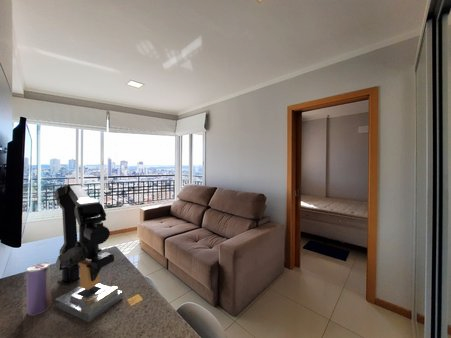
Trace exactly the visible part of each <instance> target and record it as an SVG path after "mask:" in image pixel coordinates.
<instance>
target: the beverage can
mask: <svg viewBox="0 0 451 338" xmlns="http://www.w3.org/2000/svg"><path fill="white" fill-rule="evenodd" d="M51 268H52V267H51V263H50V262H40V263H36V264H32V265H31V266H29V267H28V268H27V269H26V270H27V271H26V272H25V278H26V281H25V282H26V314H27V315H28V316H32V317H33V316H38V315H41V314H43V313H45V312H46V311H48V310H49V308H50V307H51V305H52V273H51V272H52V271H51Z"/></svg>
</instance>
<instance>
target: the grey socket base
mask: <svg viewBox="0 0 451 338" xmlns="http://www.w3.org/2000/svg"><path fill="white" fill-rule="evenodd" d="M122 299H123V291H122V290H119V287H118V286H115V285H112V286H108V285H104V284H102V283H99V284H97V285H95V286H94V287H92V288H90V289H89V290H86V289H84V288H81V287H80V285H79V286H77V287H76V288H73V289H72V290H69V291H67V292H66V293H64V294H62V295H60V296H58V297H57V298H55V299H54V307H55V308H58V309H60V310H61V311H64V312H65V313H69V315H73V316H74V317H77V318H79V319H80V320H83V321H85V322H87V323H90V322H91V321H93V320H94V319H96V318H97V317H99V316H100V315H101V314H103V313H104V312H105V311H107V310H108V309H110V308H111V307H113V305H115V304H116V303H118V302H119V301H121V300H122Z"/></svg>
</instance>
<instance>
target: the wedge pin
mask: <svg viewBox="0 0 451 338" xmlns="http://www.w3.org/2000/svg"><path fill="white" fill-rule="evenodd" d="M90 261H91V260H88V259H85V260H83V261H81V262H79V266H80V269H79V274H80V278H79V284H80V285H79V286H80V287H81V288H84V289H86V290H89V289H90V288H92V287H94V286H95V285H97V284H100V273H99V274H98V276H97V278H96V280H95V281H93V282H92V281H91V275H90V269H89V268H88V267H86V266H87V265H89V264H90Z"/></svg>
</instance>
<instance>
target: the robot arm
mask: <svg viewBox="0 0 451 338" xmlns="http://www.w3.org/2000/svg"><path fill="white" fill-rule="evenodd" d="M54 200H56V204H57V206H58V207H59V208H61V210H62V212H61V213H62V228H63V230H62V231H63V244H62V246H61V247H60V249H59V255H58V256H57V258H56V261H55V266H56V268H57V270H58V271H61V277H60V278H59V279H57V282H58V283H61V284H64V285H68V284H71V283H73V282H75V281H77V280H80V266H79V262H81V261H83V260H85V259H88V260H91V261H90V264H89V265H87V266H86V267H88V268H89V269H90V275H91V281H92V282H93V281H95V280H96V278H97V276H98V274H99V275H100V272H101V269H103V268H104V267H106V266H108V265H109V264H112V263H113V262H115V254H113V253H110V252H106V251H105V252H102V248H101V247H100V246H99V245H102V244H104V243H105V242H107V240H109V238H110V236H111V235H110V234H111V232H110V230H109V228H108V227H107V226H105V225H104V223H103V222H104V221H106V220H107V213H106V211H105V209H104V206H103V204H102V203H101V202H100V201H99V200H98V199H96V198H93V197H90V196H89V195H88V193H87V192H86V191H85V189H84V188H83V185H82V183H80V182H74V183H73V182H72V183H71V182H69V183H66V184H64V185H63V186H61V187H58V188H56V190H55V191H54ZM77 223H78V227H77ZM99 247H100V248H99ZM101 252H102V253H101ZM99 253H101V254H99Z"/></svg>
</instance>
